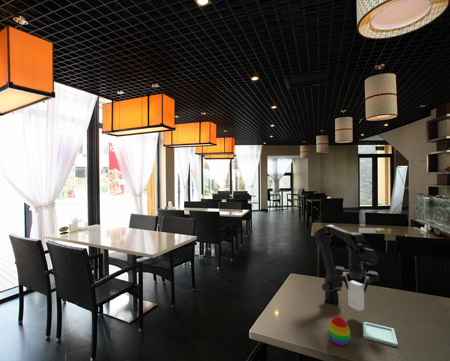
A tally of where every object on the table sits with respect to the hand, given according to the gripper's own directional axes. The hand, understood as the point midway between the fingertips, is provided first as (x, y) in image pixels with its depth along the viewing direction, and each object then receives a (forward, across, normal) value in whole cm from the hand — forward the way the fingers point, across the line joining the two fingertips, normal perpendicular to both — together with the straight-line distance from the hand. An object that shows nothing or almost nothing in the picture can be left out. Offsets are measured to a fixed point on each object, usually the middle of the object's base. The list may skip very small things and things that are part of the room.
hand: (355, 290), depth 121 cm
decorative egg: (+13, -6, -24) cm, 28 cm away
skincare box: (+8, 0, 0) cm, 8 cm away
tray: (+13, +9, -11) cm, 19 cm away
